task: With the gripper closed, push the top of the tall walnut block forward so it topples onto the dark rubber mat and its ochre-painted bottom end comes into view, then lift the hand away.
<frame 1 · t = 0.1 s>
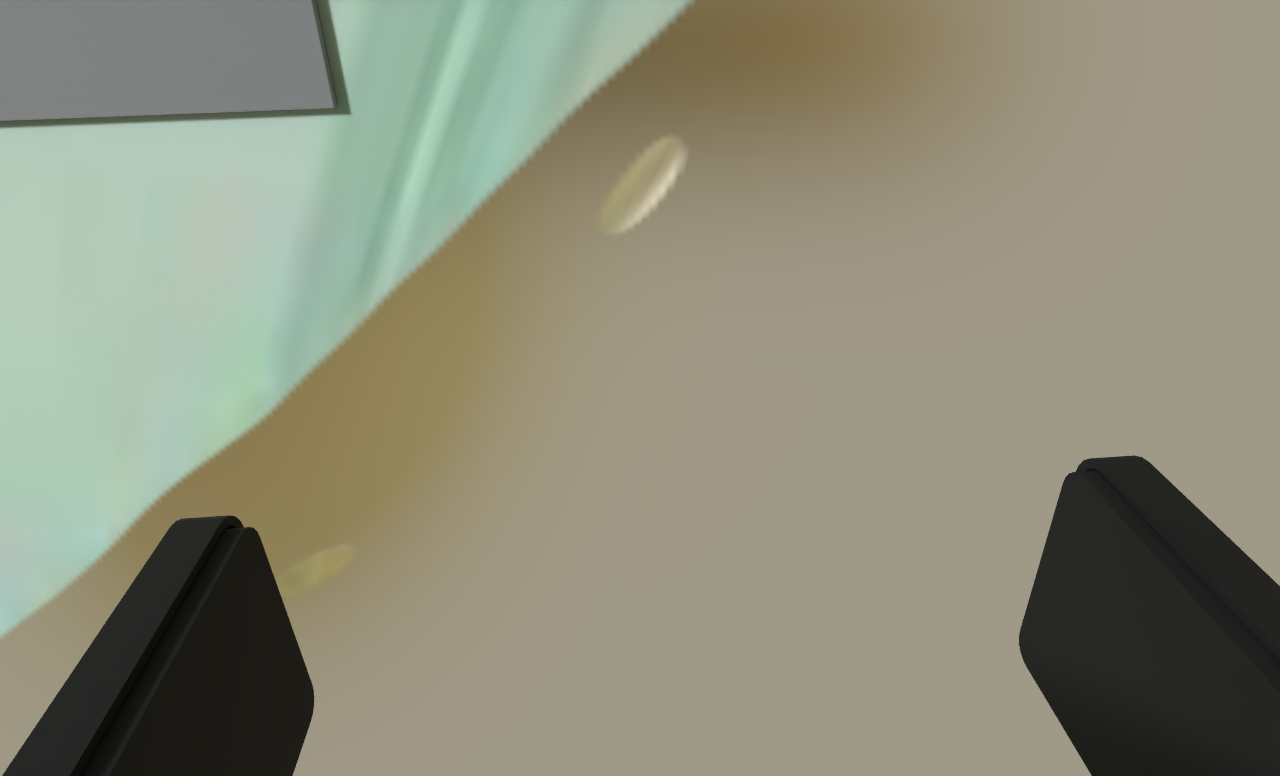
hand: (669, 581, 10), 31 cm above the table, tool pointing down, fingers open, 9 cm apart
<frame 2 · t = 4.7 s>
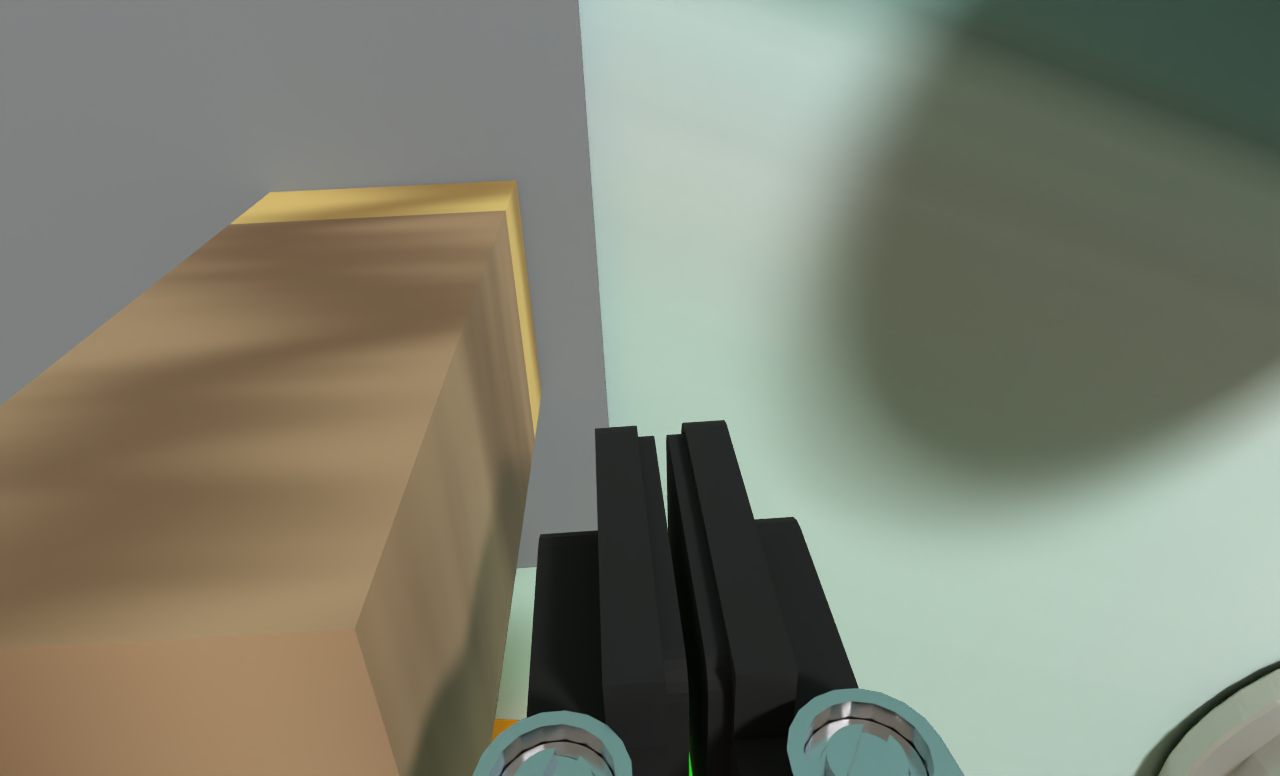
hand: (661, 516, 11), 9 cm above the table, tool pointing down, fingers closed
walnut block: (415, 299, 18), point 1 cm above the table, touching gripper, rubber mat
rubber mat: (151, 304, 18), on the table
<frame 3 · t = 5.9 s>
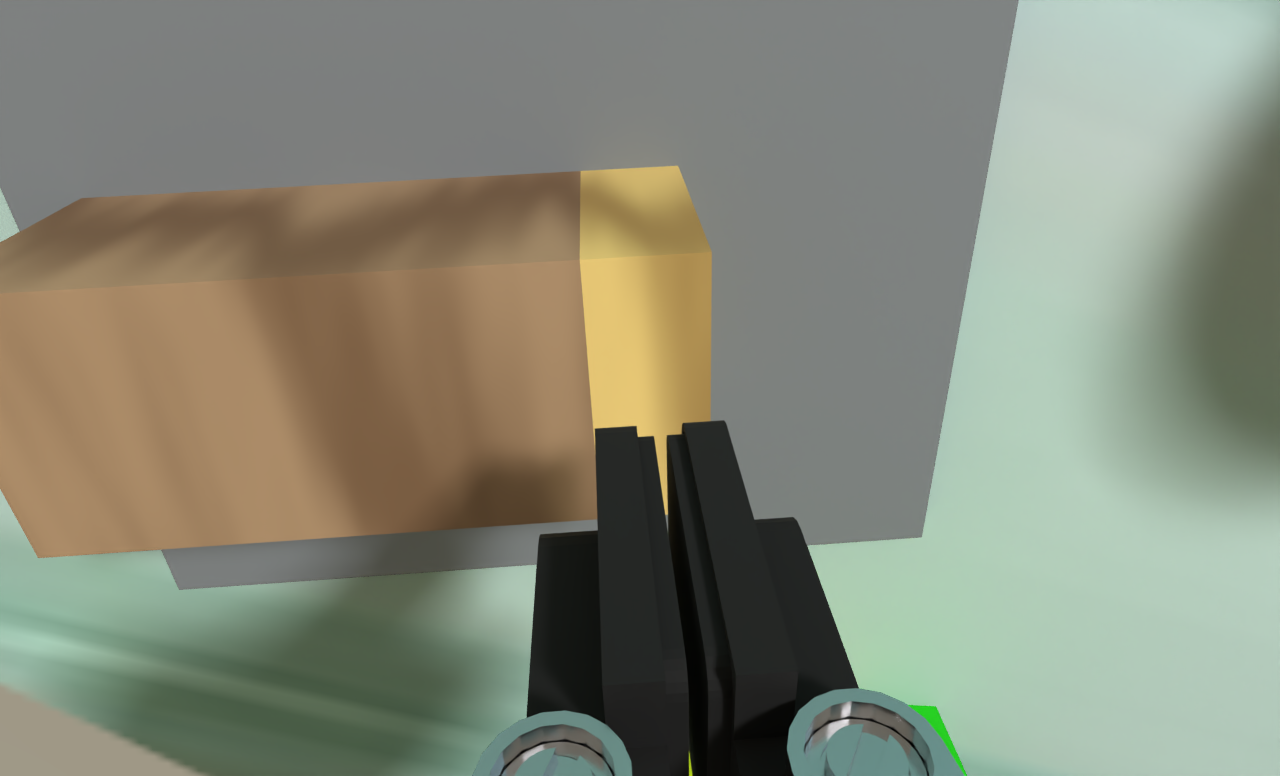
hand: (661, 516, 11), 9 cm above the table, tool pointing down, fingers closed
walnut block: (693, 328, 16), point 3 cm above the table, tilted 90°, touching rubber mat
rubber mat: (524, 278, 18), on the table
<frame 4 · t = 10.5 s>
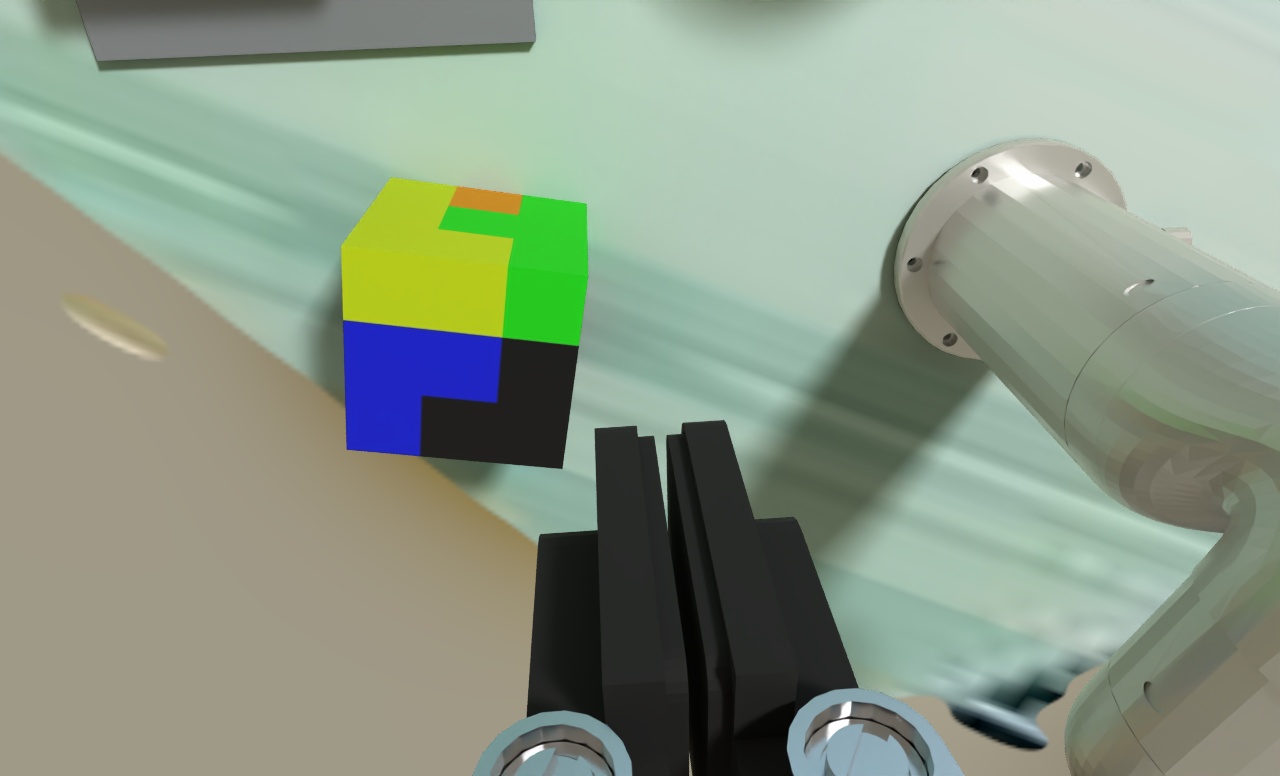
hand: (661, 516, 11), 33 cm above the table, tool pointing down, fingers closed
puzzle toy: (484, 278, 44), on the table
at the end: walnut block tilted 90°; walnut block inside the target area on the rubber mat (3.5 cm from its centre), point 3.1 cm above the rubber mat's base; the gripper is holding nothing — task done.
